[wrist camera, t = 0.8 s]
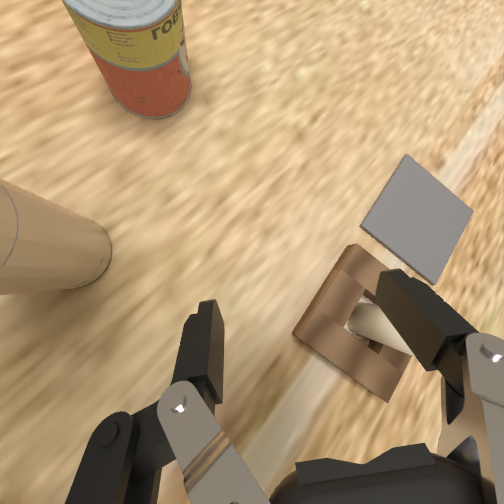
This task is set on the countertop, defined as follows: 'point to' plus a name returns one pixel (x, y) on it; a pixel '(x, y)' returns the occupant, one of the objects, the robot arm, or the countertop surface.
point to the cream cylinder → (376, 326)
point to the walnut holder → (336, 315)
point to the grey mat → (417, 219)
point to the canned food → (138, 51)
